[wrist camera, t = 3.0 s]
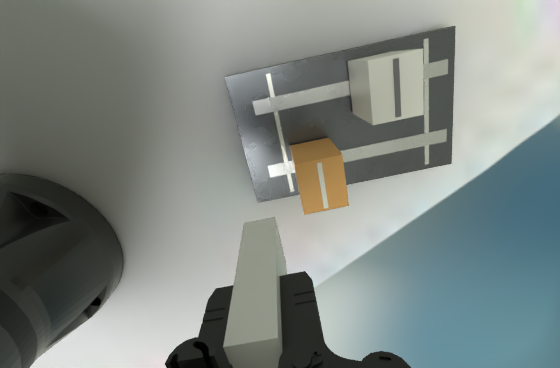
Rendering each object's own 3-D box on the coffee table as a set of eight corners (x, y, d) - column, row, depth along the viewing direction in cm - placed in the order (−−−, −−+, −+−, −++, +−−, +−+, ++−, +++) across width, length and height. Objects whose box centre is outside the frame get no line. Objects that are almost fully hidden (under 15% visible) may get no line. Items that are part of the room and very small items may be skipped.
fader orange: (297, 188, 23) (304, 215, 19) (289, 145, 22) (294, 164, 18) (334, 180, 23) (349, 206, 19) (328, 137, 22) (342, 155, 18)
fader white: (352, 113, 21) (373, 125, 17) (347, 61, 20) (368, 60, 16) (393, 104, 21) (424, 115, 17) (391, 51, 20) (424, 48, 16)
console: (258, 195, 25) (257, 203, 24) (227, 76, 22) (224, 77, 20) (441, 157, 25) (452, 163, 23) (442, 28, 21) (456, 25, 19)
